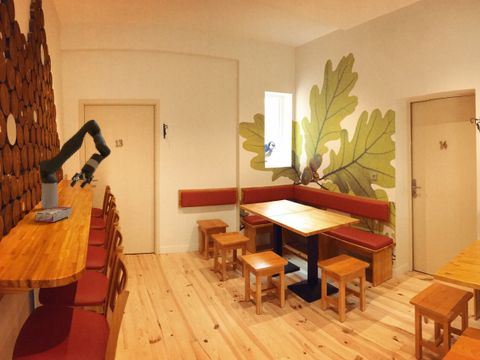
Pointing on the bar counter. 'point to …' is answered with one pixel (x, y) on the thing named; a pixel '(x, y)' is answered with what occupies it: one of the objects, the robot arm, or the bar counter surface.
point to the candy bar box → (53, 214)
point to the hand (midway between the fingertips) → (76, 186)
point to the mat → (54, 221)
